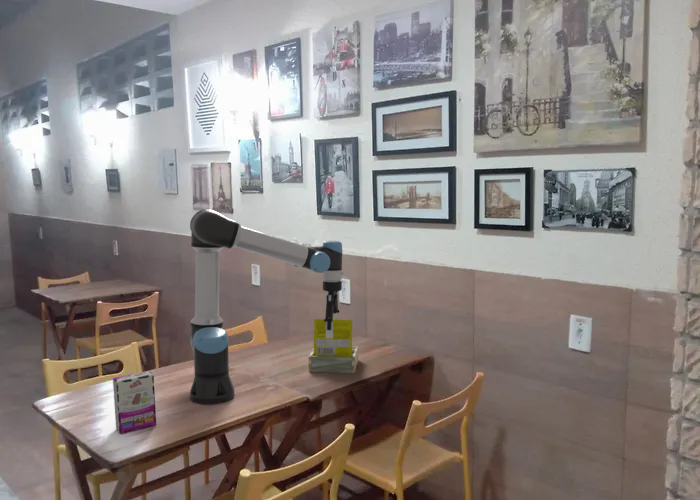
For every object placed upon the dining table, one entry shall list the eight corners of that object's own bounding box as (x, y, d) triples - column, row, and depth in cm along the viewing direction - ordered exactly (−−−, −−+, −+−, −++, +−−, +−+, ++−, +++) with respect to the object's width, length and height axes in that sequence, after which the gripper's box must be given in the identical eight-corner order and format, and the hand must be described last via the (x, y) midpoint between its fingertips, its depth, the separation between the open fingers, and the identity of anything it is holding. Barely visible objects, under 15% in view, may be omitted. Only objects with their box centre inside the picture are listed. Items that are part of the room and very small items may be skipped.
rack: (354, 373, 231) (354, 358, 230) (308, 371, 233) (308, 356, 232) (358, 360, 247) (358, 346, 246) (315, 358, 249) (315, 345, 248)
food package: (351, 370, 234) (352, 320, 236) (351, 370, 233) (352, 320, 235) (313, 369, 235) (314, 319, 237) (313, 369, 234) (314, 319, 236)
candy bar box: (151, 420, 186) (149, 370, 184) (156, 425, 182) (154, 374, 180) (114, 429, 180) (112, 377, 177) (119, 434, 176) (116, 381, 173)
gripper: (337, 286, 217) (337, 342, 220) (345, 275, 242) (344, 325, 245) (317, 285, 218) (317, 341, 221) (327, 274, 243) (326, 325, 245)
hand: (331, 333), depth 233 cm, fingers open, 13 cm apart
